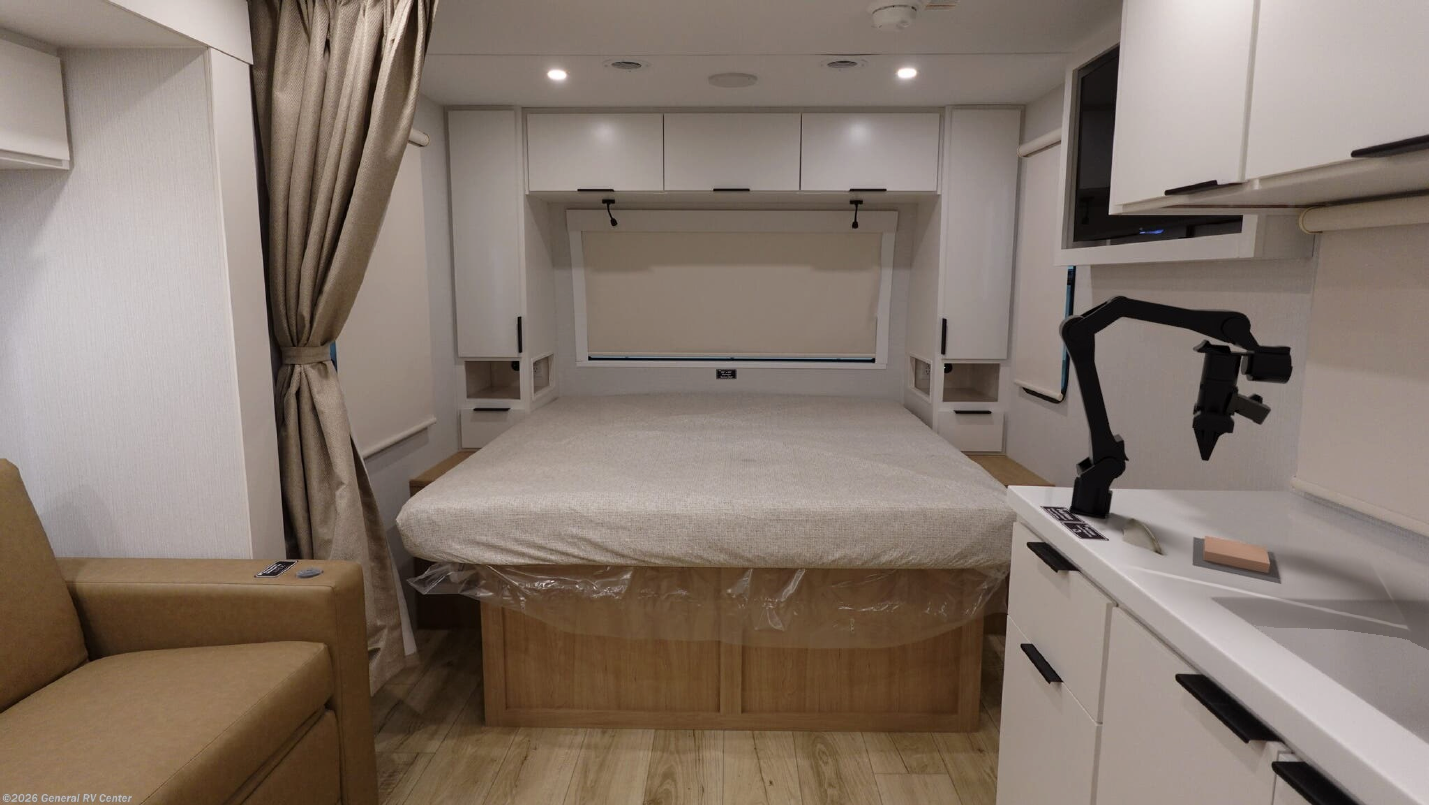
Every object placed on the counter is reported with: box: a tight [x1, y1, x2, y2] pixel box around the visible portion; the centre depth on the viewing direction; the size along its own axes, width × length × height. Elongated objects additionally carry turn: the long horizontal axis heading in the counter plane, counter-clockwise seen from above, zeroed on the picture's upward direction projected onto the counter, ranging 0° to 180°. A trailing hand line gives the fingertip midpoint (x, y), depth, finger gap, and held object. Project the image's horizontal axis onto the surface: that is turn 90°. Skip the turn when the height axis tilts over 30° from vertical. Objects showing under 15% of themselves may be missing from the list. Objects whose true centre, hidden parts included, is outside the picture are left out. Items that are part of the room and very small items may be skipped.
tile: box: [1203, 535, 1270, 573], centre depth 133 cm, size 9×2×9 cm
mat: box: [1192, 536, 1282, 585], centre depth 133 cm, size 12×16×1 cm
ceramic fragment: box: [1121, 517, 1163, 556], centre depth 140 cm, size 14×5×4 cm, turn 173°
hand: (1205, 460), depth 148 cm, fingers closed
